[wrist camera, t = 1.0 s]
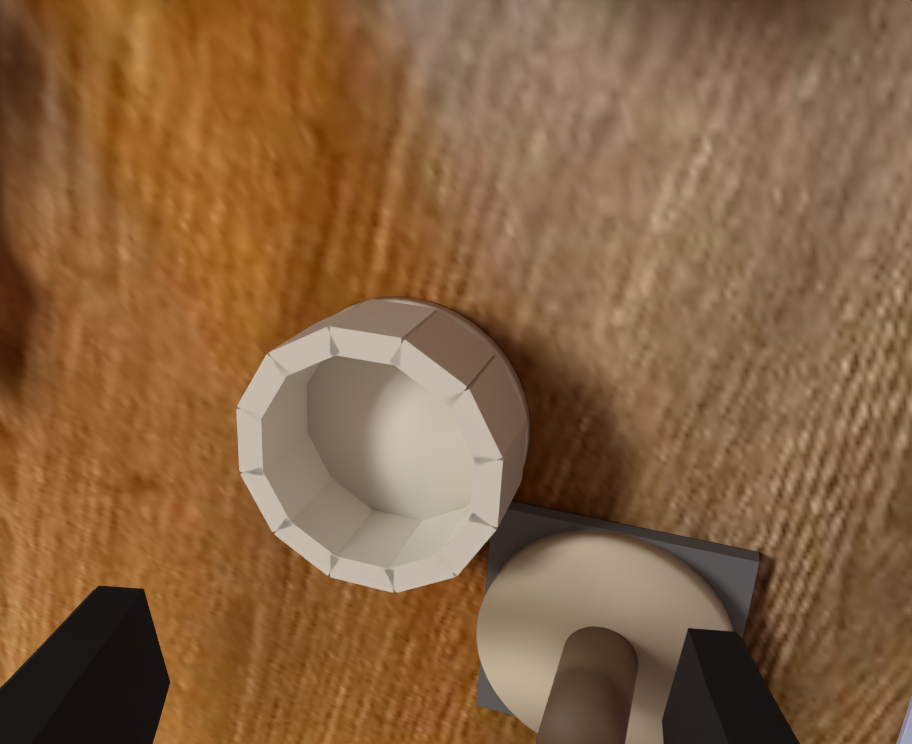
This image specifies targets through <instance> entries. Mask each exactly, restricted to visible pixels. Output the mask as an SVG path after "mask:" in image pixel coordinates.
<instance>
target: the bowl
mask: <svg viewBox="0 0 912 744" xmlns="http://www.w3.org/2000/svg"><path fill="white" fill-rule="evenodd" d="M237 406H238V408H237V409H236V410H237V431H238V452H239V471H240V472H242V473H241V474H240V475H241V476H242V478H243V480H244V482H245V484H246V485H247V487H248V489H249V491H250V493H251V494H252V496H253V498H254V500H255V502H256V503H257V505H258V507H259V509H260V511H261V513H262V514H263V516H264V518H265V520H266V522H267V523H268V525H269V527H270V529H271V531H272V532H274V531H276V533H275V534H274V535H276V536H277V537H278V538H280V539H281V540H282V541H283V542H285V543H286V544H287V545H289V546H290V547H291V548H292V549H294V550H295V551H296V552H298V553H299V554H300V555H301V556H303V557H304V558H305V559H307V560H308V561H309V562H310V563H312V564H313V565H314V566H316V567H317V568H318V569H319V570H321V571H322V572H323V573H325V574H326V575H327V576H328V575H329V573H330V577H332V578H336V579H340V580H344V581H348V582H352V583H356V584H360V585H364V586H368V587H372V588H376V589H380V590H384V591H388V592H392V593H393V592H394V591H396V593H397V592H401V591H405V590H409V589H412V588H416V587H420V586H424V585H428V584H431V583H435V582H439V581H443V580H447V579H450V578H454V577H455V576H456V575H457V576H458V575H459V573H460V572H461V571H462V570H463V569H464V567H465V566H466V565H467V564H468V563H469V562H470V560H471V559H472V558H473V557H474V556H475V555H476V553H477V552H478V551H479V550H480V549H481V548H482V546H483V545H484V544H485V543H486V542H487V540H488V539H489V538H490V537H491V536H492V535H493V533H494V532H495V531H496V530H497V528H498V526H499V524H500V522H501V520H502V518H503V516H504V514H505V512H506V511H507V509H508V507H509V505H510V503H511V501H512V499H513V497H514V495H515V493H516V491H517V489H518V487H519V485H520V484H521V481H522V474H523V468H524V465H525V462H526V459H527V456H528V450H529V444H530V416H529V408H528V404H527V401H526V397H525V393H524V390H523V388H522V385H521V383H520V380H519V378H518V376H517V374H516V372H515V370H514V368H513V367H512V365H511V363H510V361H509V360H508V359H507V357H506V356H505V355H504V353H503V352H502V350H501V349H500V348H499V347H498V346H497V344H496V343H495V342H494V341H493V340H492V339H491V338H490V337H489V336H488V335H487V334H486V333H485V332H484V331H482V330H481V329H480V328H479V327H478V326H477V325H475V324H474V323H472V322H471V321H469V320H468V319H466V318H465V317H463V316H462V315H460V314H458V313H456V312H454V311H452V310H450V309H448V308H446V307H444V306H441V305H439V304H436V303H433V302H430V301H426V300H422V299H417V298H412V297H399V296H392V297H379V298H374V299H369V300H365V301H362V302H359V303H357V304H354V305H351V306H349V307H348V308H346V309H344V310H342V311H340V312H338V313H337V314H335V315H333V316H331V317H328V318H326V319H324V320H322V321H320V322H317V323H315V324H314V325H312V326H310V327H309V328H307V329H306V330H304V331H302V332H301V333H299V334H298V335H296V336H294V337H293V338H291V339H290V340H288V341H286V342H285V343H283V344H281V345H280V346H278V347H277V348H275V349H273V350H272V351H270V352H269V353H268V354H267V355H266V356H265V358H264V360H263V362H262V363H261V365H260V367H259V369H258V370H257V372H256V374H255V376H254V377H253V379H252V381H251V383H250V384H249V386H248V388H247V390H246V391H245V393H244V395H243V397H242V398H241V400H240V402H239V404H238V405H237Z"/></svg>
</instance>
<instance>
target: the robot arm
mask: <svg viewBox="0 0 912 744" xmlns="http://www.w3.org/2000/svg"><path fill="white" fill-rule="evenodd" d="M169 685H170V680H169V677H168V673H167V670H166V666H165V663H164V659H163V656H162V652H161V649H160V645H159V641H158V638H157V634H156V631H155V627H154V624H153V620H152V617H151V613H150V610H149V606H148V603H147V599H146V596H145V592H144V589H137V588H123V587H109V586H98V587H97V588H96V589H95V590H93V591H92V592H91V593H90V594H89V595H88V597H87V598H86V599H85V600H84V601H83V602H82V603H81V604H80V605H79V606H78V607H77V608H76V609H75V610H74V611H73V612H72V613H71V614H70V616H69V617H68V618H67V619H66V620H65V621H64V622H63V623H62V624H61V625H60V626H59V627H58V628H57V629H56V630H55V631H54V633H53V634H52V635H51V636H50V637H49V638H48V639H47V640H46V641H45V642H44V643H43V644H42V645H41V646H40V647H39V648H38V649H37V651H36V652H35V653H34V654H33V655H32V656H31V657H30V658H29V659H28V660H27V661H26V662H25V663H24V664H23V665H22V666H21V667H20V668H19V669H18V670H17V671H16V672H15V673H14V674H13V676H12V677H11V678H10V679H9V680H8V681H7V682H6V683H5V684H4V685H3V686H2V687H1V688H0V744H153V740H154V737H155V734H156V730H157V727H158V724H159V720H160V717H161V713H162V710H163V706H164V702H165V699H166V695H167V692H168V688H169ZM662 729H663V742H664V744H800V743H799V741H798V740H797V738H796V736H795V735H794V733H793V731H792V729H791V728H790V726H789V724H788V722H787V721H786V719H785V717H784V715H783V714H782V712H781V710H780V708H779V707H778V705H777V703H776V701H775V699H774V698H773V696H772V694H771V692H770V690H769V688H768V687H767V685H766V683H765V681H764V679H763V677H762V676H761V674H760V672H759V670H758V668H757V666H756V664H755V662H754V660H753V658H752V657H751V655H750V653H749V651H748V649H747V647H746V645H745V643H744V641H743V639H742V638H741V636H740V635H739V634H738V633H737V632H735V631H721V630H707V629H693V628H688V630H687V634H686V637H685V641H684V644H683V648H682V651H681V655H680V658H679V662H678V665H677V669H676V672H675V676H674V679H673V683H672V686H671V690H670V693H669V697H668V700H667V704H666V707H665V711H664V714H663V718H662ZM896 744H912V697H911V700H910V703H909V706H908V710H907V713H906V716H905V719H904V722H903V725H902V728H901V731H900V734H899V737H898V740H897V743H896Z"/></svg>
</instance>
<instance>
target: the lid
mask: <svg viewBox="0 0 912 744" xmlns="http://www.w3.org/2000/svg"><path fill="white" fill-rule="evenodd" d="M688 628H693V629H707V630H721V631H734V630H733V627H732V624H731V621H730V618H729V616H728V614H727V612H726V610H725V608H724V606H723V604H722V602H721V600H720V599H719V598H718V596H717V595H716V593H715V592H714V591H713V589H712V588H711V586H710V585H709V584H708V583H707V582H706V581H705V580H704V579H703V578H702V577H701V576H700V575H699V574H698V573H697V572H696V571H695V570H694V569H693V568H691V567H690V566H689V565H688V564H687V563H685V562H684V561H682V560H681V559H680V558H678V557H677V556H675V555H674V554H672V553H671V552H669V551H667V550H665V549H663V548H661V547H659V546H657V545H655V544H653V543H650V542H648V541H645V540H643V539H640V538H637V537H634V536H630V535H626V534H623V533H618V532H611V531H605V530H574V531H566V532H561V533H556V534H552V535H549V536H547V537H544V538H541V539H538V540H536V541H534V542H532V543H530V544H528V545H526V546H525V547H523V548H522V549H520V550H519V551H518V552H516V553H515V554H514V555H513V556H512V557H510V558H509V559H508V560H507V561H506V562H505V563H504V565H503V566H502V567H501V569H500V570H499V571H498V573H497V574H496V576H495V578H494V579H493V581H492V583H491V585H490V587H489V589H488V591H487V594H486V596H485V598H484V600H483V602H482V605H481V608H480V611H479V615H478V621H477V646H478V653H479V657H480V660H481V664H482V667H483V669H484V672H485V674H486V676H487V678H488V680H489V682H490V684H491V686H492V687H493V689H494V691H495V692H496V694H497V695H498V696H499V698H500V699H501V700H502V702H503V703H504V704H505V705H506V707H507V708H508V709H509V710H510V711H511V712H512V713H513V714H514V715H515V716H516V717H517V718H518V719H519V720H521V721H522V722H523V723H524V724H525V725H526V726H528V727H529V728H530V729H532V730H533V731H535V732H536V733H538V734H537V738H536V744H664V742H663V729H662V718H663V714H664V711H665V707H666V704H667V700H668V697H669V693H670V690H671V686H672V683H673V679H674V676H675V672H676V669H677V665H678V662H679V658H680V655H681V651H682V648H683V644H684V641H685V637H686V634H687V630H688Z"/></svg>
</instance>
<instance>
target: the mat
mask: <svg viewBox="0 0 912 744" xmlns="http://www.w3.org/2000/svg"><path fill="white" fill-rule="evenodd" d="M574 530H605V531H611V532H618V533H623V534H626V535H630V536H634V537H637V538H640V539H643V540H645V541H648V542H650V543H653V544H655V545H657V546H659V547H661V548H663V549H665V550H667V551H669V552H671V553H672V554H674V555H675V556H677V557H678V558H680V559H681V560H682V561H684V562H685V563H687V564H688V565H689V566H690V567H691V568H693V569H694V570H695V571H696V572H697V573H698V574H699V575H700V576H701V577H702V578H703V579H704V580H705V581H706V582H707V583H708V584H709V585H710V586H711V588H712V589H713V591H714V592H715V593H716V595H717V596H718V598H719V599H720V600H721V602H722V604H723V606H724V608H725V610H726V612H727V614H728V616H729V618H730V621H731V624H732V627H733V630H734V631H735V632H737V633H738V634H739V635H740V636H741V638H742V639H743V634H744V630H745V625H746V621H747V616H748V612H749V607H750V603H751V598H752V594H753V589H754V585H755V580H756V576H757V571H758V567H759V552H755V551H750V550H745V549H740V548H735V547H731V546H726V545H721V544H716V543H711V542H706V541H702V540H697V539H692V538H687V537H682V536H678V535H673V534H668V533H663V532H658V531H653V530H649V529H644V528H639V527H634V526H629V525H625V524H620V523H615V522H610V521H605V520H600V519H596V518H591V517H586V516H581V515H576V514H572V513H567V512H562V511H557V510H552V509H548V508H543V507H538V506H533V505H528V504H523V503H519V502H514V501H511V503H510V505H509V507H508V509H507V511H506V512H505V514H504V516H503V518H502V520H501V522H500V524H499V526H498V528H497V530H496V531H495V532H494V533H493V535H492V536H491V537H490V544H489V556H488V568H487V581H486V593H485V596H486V594H487V591H488V589H489V587H490V585H491V583H492V581H493V579H494V578H495V576H496V574H497V573H498V571H499V570H500V569H501V567H502V566H503V565H504V563H505V562H506V561H507V560H508V559H509V558H510V557H512V556H513V555H514V554H515V553H516V552H518V551H519V550H520V549H522V548H523V547H525V546H526V545H528V544H530V543H532V542H534V541H536V540H538V539H541V538H544V537H547V536H549V535H552V534H556V533H561V532H566V531H574ZM477 705H478V706H481V707H485V708H488V709H492V710H496V711H499V712H503V713H506V714H510V715H514V714H513V713H512V712H511V711H510V710H509V709H508V708H507V707H506V705H505V704H504V703H503V702H502V700H501V699H500V698H499V696H498V695H497V694H496V692H495V691H494V689H493V687H492V686H491V684H490V682H489V680H488V678H487V676H486V674H485V672H484V669H483V667H482V664H481V660H480V668H479V680H478V693H477ZM514 716H515V715H514Z"/></svg>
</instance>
